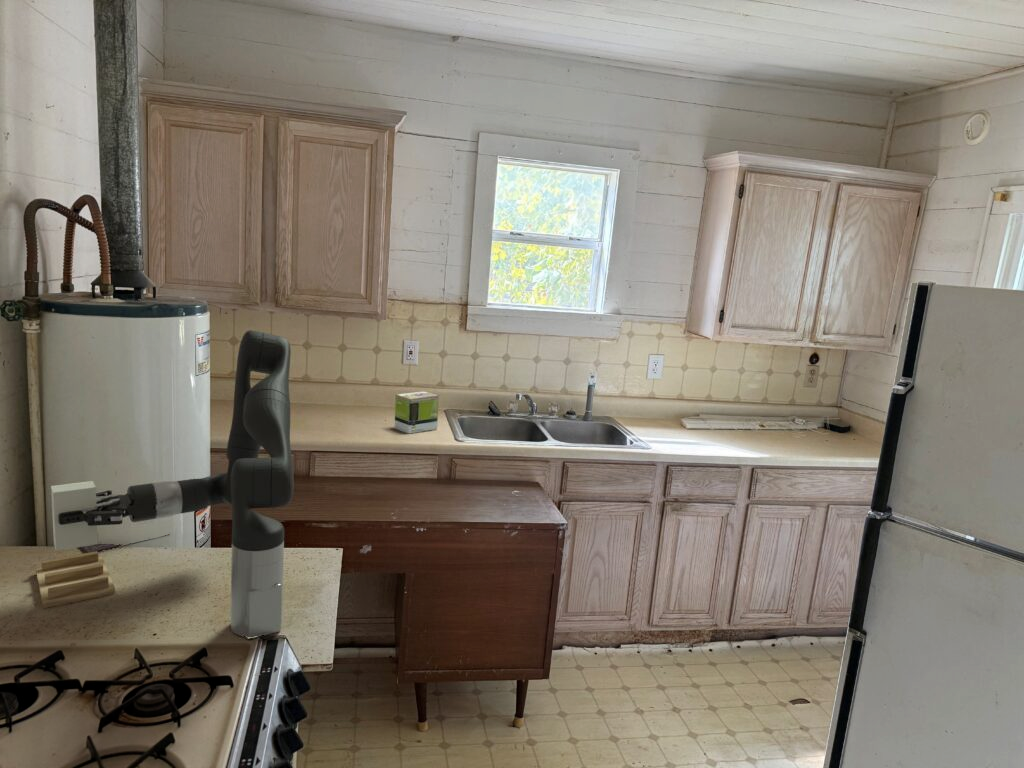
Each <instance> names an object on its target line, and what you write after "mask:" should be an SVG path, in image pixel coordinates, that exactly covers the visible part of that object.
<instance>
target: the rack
mask: <svg viewBox="0 0 1024 768" xmlns="http://www.w3.org/2000/svg"><path fill="white" fill-rule="evenodd" d="M36 575H37V576H36ZM35 576H36V580H38V581H37V585H38V590H39V595H40V599H41V604H42V609H47V608H48V609H49V608H51V607H56V606H61V605H66V604H71V603H75V602H80V601H85V600H89V599H94V598H99V597H103V596H110V595H113V594H116V586H115V584H114V582H113V580H112V578H111V575H110V572H109V570H108V567H107V565H106V563H105V560H104V557H103V556H99V553H98V552H97V551H96V552H90V553H85V552H84V553H80V554H73V555H68V556H67V555H66V556H62V557H61V556H60V557H56V558H51V559H43V560H41V567H38V568H35Z"/></svg>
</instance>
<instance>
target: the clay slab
mask: <svg viewBox="0 0 1024 768" xmlns="http://www.w3.org/2000/svg"><path fill="white" fill-rule="evenodd" d="M50 491H51V492H50V494H51V508H52V509H51V513H52V516H51V517H52V532H53V545H54V549H55V552H59V551H65V550H72V549H76V548H80V547H83V546H89V545H95V544H98V534H99V533H98V525H96V526H88V524H87V523H83V521H82V522H77V523H70V524H64V525H60V524H59V518H58V515H59V514H60V513H64V512H71V511H78V510H81V512H82V510H84V509H88V508H94V507H95V506H96V493H97V487H96V484H95V482H94V481H93V480H89V481H81V482H74V483H72V482H71V483H65V484H64V483H63V484H58V485H57V484H55V485H51V486H50Z"/></svg>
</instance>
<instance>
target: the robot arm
mask: <svg viewBox="0 0 1024 768" xmlns="http://www.w3.org/2000/svg"><path fill="white" fill-rule="evenodd" d="M241 338H242V339H241V341H240V343H239V348H238V353H237V358H236V359H237V361H236V371H235V380H234V390H233V391H234V392H233V393H234V394H233V396H234V397H233V410H232V411H233V412H232V419H231V426H230V431H229V435H228V441H227V447H226V452H225V453H226V455H225V456H226V458H227V460H228V466H227V472H223V473H222V472H221V473H217V474H214V475H209V476H206V477H201V478H191V479H183V480H175V481H174V480H173V481H171V480H170V481H167V480H166V481H160V482H159V481H158V482H157V481H156V482H151V483H142V484H136V485H135V484H134V485H130V486H128V488H127V490H126V491H127V492H126V493H125V494H116V493H115V494H113V491H112V490H105V491H101V492H96V506H95V507H94V508H88V509H84V510H82V512H81V510H78V511H71V512H64V513H60V514H59V515H58V518H59V524H60V525H64V524H70V523H77V522H82V521H83V523H87V524H88V526H96V525H97V526H109V525H110V526H113V525H115V526H116V525H122V524H123V518H125V517H129V520H130V521H131V522H132V523H137V522H139V523H140V522H144V521H149V520H150V521H152V520H157V519H163V518H169V517H173V516H175V515H180V514H186V513H191V512H192V513H193V512H197V511H199V512H200V511H202V510H204V509H206V508H207V507H211V506H216V505H221V504H229V505H231V510H232V511H231V513H232V516H231V518H232V522H231V523H232V524H231V525H232V526H231V529H232V530H231V560H230V561H231V567H230V568H231V571H230V572H231V573H230V574H231V575H230V583H231V584H230V629H231V630H230V631H232V632H233V633H234V634H236V635H237V634H238V636H240V635H243V636H242V637H244V636H247V637H254V636H260V635H264V636H268V635H270V634H271V635H272V634H276V633H279V632H281V629H282V622H283V585H284V582H283V580H284V555H285V554H284V552H285V551H284V549H285V528H284V524H282V522H280V521H279V520H276V519H274V518H271V517H268V516H265V515H262V514H259V513H258V512H257V511H255V510H253V509H269V508H272V509H273V508H281V507H282V508H283V507H285V506H287V505H289V504H290V503H291V501H292V499H293V495H294V487H295V477H294V476H295V475H294V465H293V459H292V458H293V457H292V451H291V450H292V449H291V400H290V399H291V398H290V386H289V382H290V381H289V380H290V379H289V378H290V368H291V367H290V365H291V356H292V355H291V353H292V352H291V344H290V342H289V340H288V339H287V338H285V337H283V336H280V335H276V334H272V333H266V332H262V331H256V330H251V329H250V330H247V331H246V332H245V333H244V334H243V336H242V337H241ZM252 372H255V373H260V374H265V375H268V376H266V377H264V378H263V379H262V380H259V381H258V382H257V383H256V384H254V385H253V386H252V387H251V385H252V384H251V373H252ZM261 447H262V448H263V449H264V450H265V451H266V452H267V453H268V455H269V456H270V457H259V456H260V451H261Z"/></svg>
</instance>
